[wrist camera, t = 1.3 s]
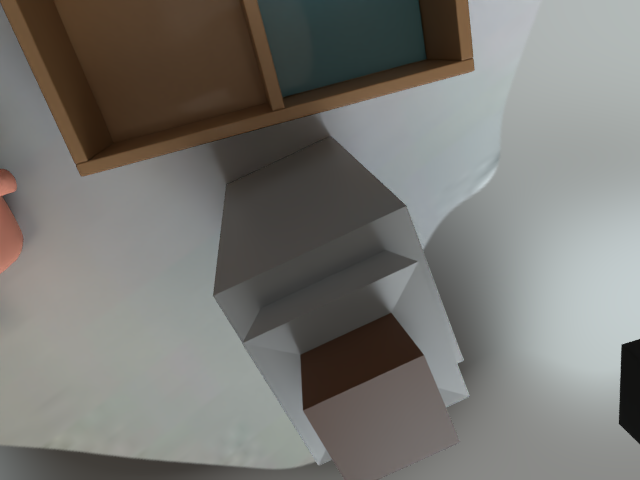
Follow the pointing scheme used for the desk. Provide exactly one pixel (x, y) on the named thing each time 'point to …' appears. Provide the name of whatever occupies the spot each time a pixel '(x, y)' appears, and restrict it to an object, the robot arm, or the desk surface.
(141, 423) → the desk surface
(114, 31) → the bottle tray
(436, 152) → the desk surface
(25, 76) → the desk surface
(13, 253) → the teapot
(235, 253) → the perfume bottle
